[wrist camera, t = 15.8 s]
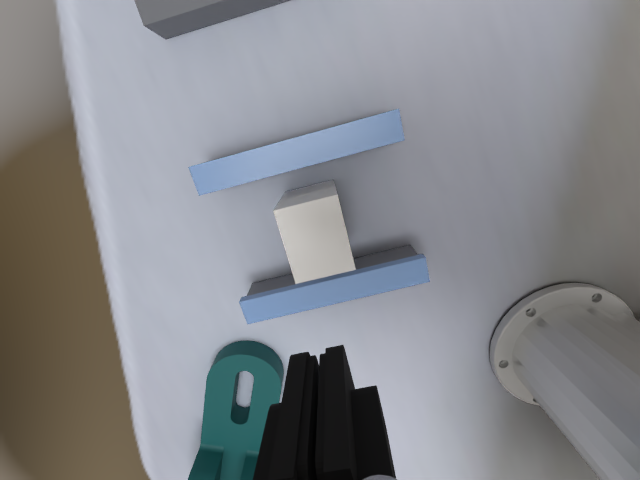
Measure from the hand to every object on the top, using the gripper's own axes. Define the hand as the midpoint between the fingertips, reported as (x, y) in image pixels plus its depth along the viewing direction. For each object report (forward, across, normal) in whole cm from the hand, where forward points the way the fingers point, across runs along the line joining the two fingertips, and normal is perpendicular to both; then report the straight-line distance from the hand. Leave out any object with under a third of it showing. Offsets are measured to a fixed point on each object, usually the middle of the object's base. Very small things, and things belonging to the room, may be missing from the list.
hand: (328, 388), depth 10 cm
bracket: (+19, +13, +17) cm, 28 cm away
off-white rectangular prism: (+18, +1, -2) cm, 18 cm away
